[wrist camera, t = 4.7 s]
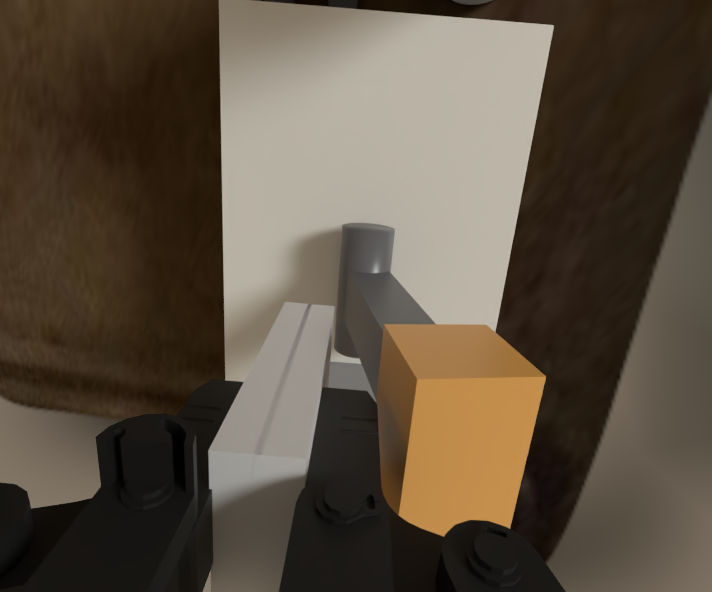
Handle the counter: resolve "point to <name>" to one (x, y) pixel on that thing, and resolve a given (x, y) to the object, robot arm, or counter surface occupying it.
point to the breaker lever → (434, 394)
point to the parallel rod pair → (333, 1)
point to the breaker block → (369, 159)
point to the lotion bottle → (471, 1)
